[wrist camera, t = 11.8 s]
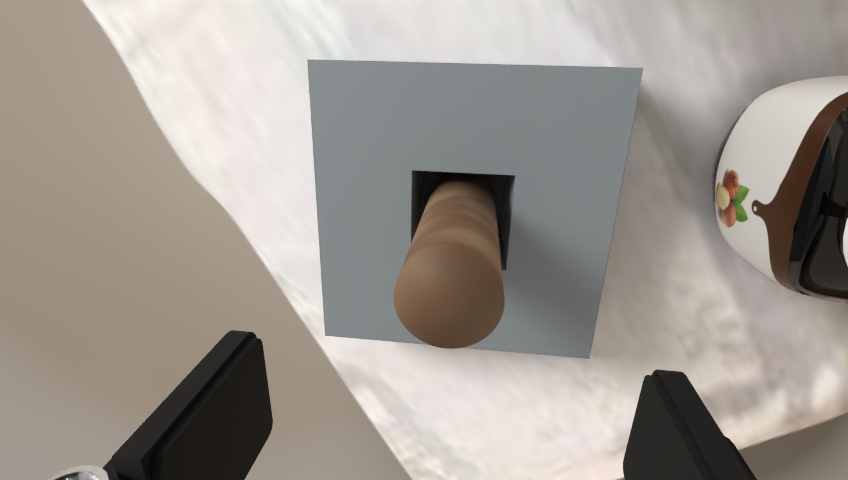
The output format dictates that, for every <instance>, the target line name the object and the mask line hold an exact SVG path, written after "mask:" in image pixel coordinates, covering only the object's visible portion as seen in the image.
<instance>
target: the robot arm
mask: <svg viewBox="0 0 848 480" xmlns="http://www.w3.org/2000/svg"><path fill="white" fill-rule="evenodd" d="M272 423H273V419H272V412H271V404H270V396H269V390H268V382H267V375H266V366H265V359H264V351H263V345H262V341H261V339H258V338H256V335H255V334H254V333H253V332H245V331H233V330H232V331H229V332H228V333H227V334H226V335H225V336H224V337H223V338H222V339H221V340H220V341H219V342H218V343H217V344H216V345H215V346H214V348H213V349H212V350H211V351H210V352H209V353H208V354H207V355H206V356H205V357H204V358H203V359H202V360H201V361H200V363H199V364H198V365H197V366H196V367H195V368H194V369H193V370H192V371H191V372H190V373H189V374H188V375H187V377H186V378H185V379H184V380H183V381H182V382H181V383H180V384H179V385H178V386H177V387H176V388H175V389H174V390H173V392H172V393H171V394H170V395H169V396H168V397H167V398H166V399H165V400H164V401H163V402H162V403H161V404H160V405H159V407H158V408H157V409H156V410H155V411H154V412H153V413H152V414H151V415H150V416H149V417H148V418H147V419H146V421H145V422H144V423H143V424H142V425H141V426H140V427H139V428H138V429H137V430H136V431H135V432H134V433H133V434H132V436H131V437H130V438H129V439H128V440H127V441H126V442H125V443H124V444H123V445H122V446H121V447H120V449H119V450H118V451H117V452H116V453H115V454H114V455H113V456H112V459H111V460H110V461H109V462H108V463H107V464H106V465H105V466H104V467H103V468H101V467H98V466H94V465H81V466H76V467H72V468H68V469H65V470H63V471H60V472H58V473H56V474H54V475H51V476H49V477H48V478H46V479H45V480H244V479H245V478H246V476H247V474H248V472H249V471H250V469H251V467H252V465H253V464H254V462H255V460H256V458H257V456H258V455H259V453H260V451H261V449H262V448H263V446H264V444H265V442H266V440H267V439H268V437H269V435H270V432H271V430H272ZM623 472H624V477H625V480H757V479H756V478H755V476H754V475H753V473H752V472H751V470H750V468H749V467H748V465H747V464H746V462H745V461H744V459H743V458H742V456H741V454H740V453H739V451H738V450H737V448H736V447H735V445H734V444H733V443H732V441H731V440H730V439H728V438H727V437H725V436H724V435H723V433H722V432H721V430H720V429H719V427H718V426H717V424H716V422H715V421H714V419H713V418H712V416H711V414H710V413H709V411H708V410H707V408H706V406H705V405H704V403H703V402H702V400H701V399H700V397H699V395H698V394H697V392H696V391H695V389H694V387H693V386H692V384H691V383H690V381H689V380H688V378H687V376H686V375H685V374H684V373H683V372H677V371H667V370H655V371H654V372H653V373H652V375H646V376H645V378H644V381H643V385H642V389H641V393H640V397H639V401H638V404H637V408H636V412H635V416H634V420H633V424H632V428H631V432H630V436H629V440H628V444H627V448H626V452H625V456H624V461H623Z"/></svg>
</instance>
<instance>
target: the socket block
mask: <svg viewBox="0 0 848 480" xmlns="http://www.w3.org/2000/svg"><path fill="white" fill-rule="evenodd" d="M642 71H643V68H619V67H580V66H540V65H500V64H461V63H421V62H382V61H342V60H308V76H309V91H310V107H311V123H312V138H313V154H314V169H315V185H316V200H317V216H318V231H319V247H320V263H321V278H322V294H323V309H324V325H325V336H336V337H347V338H359V339H370V340H382V341H393V342H405V343H416V344H427V343H425V342H423V341H421V340H419V339H418V338H416V337H415V336H413V335H412V334H411V333H410V332H409V331H408V330H407V329H406V328H405V327H404V326H403V324H402V323H401V321H400V319H399V318H398V316H397V313H396V310H395V306H394V299H393V295H394V288H395V284H396V281H397V278H398V276H399V273H400V271H401V268H402V266H403V263H404V261H405V258H406V256H407V253H408V250H409V248H410V245H411V243H412V240H413V238H414V235H415V233H416V230H417V227H418V225H419V222H420V220H421V216H422V172H423V171H436V172H457V173H477V174H498V175H508V182H507V193H506V204H505V215H504V226H503V237H502V239H499V246H500V256H501V266H502V277H503V287H504V297H505V306H504V312H503V315H502V318H501V320H500V322H499V324H498V325H497V327H496V328H495V329H494V331H493V332H492V333H491V334H490V335H488V336H487V337H486V338H485V339H483V340H481V341H480V342H478V343H476V344H473V345H470V346H467V347H462V348H474V349H485V350H497V351H508V352H519V353H531V354H542V355H554V356H565V357H577V358H588V359H589V357H590V352H591V346H592V341H593V336H594V330H595V325H596V319H597V314H598V309H599V303H600V298H601V292H602V287H603V282H604V276H605V271H606V265H607V260H608V255H609V249H610V244H611V239H612V233H613V228H614V222H615V217H616V212H617V206H618V201H619V195H620V190H621V185H622V179H623V174H624V168H625V163H626V158H627V152H628V147H629V142H630V136H631V131H632V125H633V120H634V115H635V109H636V104H637V98H638V93H639V88H640V82H641V77H642ZM428 345H430V344H428Z"/></svg>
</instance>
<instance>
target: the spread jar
mask: <svg viewBox="0 0 848 480" xmlns="http://www.w3.org/2000/svg"><path fill="white" fill-rule="evenodd" d="M712 190H713V202H714V210H715V214H716V218H717V222H718V225H719V229H720V231H721V233H722V235H723V237H724V239H725V240H726V242H727V244H728V245H729V246H730V247H731V248H732V249H733V250H734V251H735V252H736V253H737V254H738V255H739V256H740V257H741V258H743V259H744V260H745V261H746V262H748V263H749V264H750V265H752V266H753V267H754V268H756V269H757V270H759V271H760V272H761V273H763V274H764V275H766V276H767V277H769V278H770V279H772V280H773V281H775V282H776V283H778V284H780V285H782V286H784V287H786V288H788V289H790V290H792V291H795V292H798V293H801V294H805V295H808V296H812V297H816V298H820V299H825V300H830V301H837V302H846V303H848V76H830V77H821V78H813V79H806V80H801V81H796V82H792V83H788V84H785V85H782V86H779V87H776V88H774V89H771V90H769V91H767V92H765V93H763V94H762V95H760V96H759V97H758V98H756V99H755V100H754V101H753V102H752V103H751V104H750V105H749V106H748V107H747V108H746V109H745V110H744V111H743V112H742V113H741V114H740V116H739V117H738V118H737V120H736V121H735V123H734V124H733V126H732V127H731V129H730V131H729V132H728V134H727V135H726V137H725V139H724V141H723V143H722V145H721V147H720V150H719V152H718V155H717V158H716V161H715V165H714V171H713V180H712Z"/></svg>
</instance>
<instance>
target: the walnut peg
mask: <svg viewBox="0 0 848 480" xmlns="http://www.w3.org/2000/svg"><path fill="white" fill-rule="evenodd" d="M393 299H394V306H395V310H396V313H397V316H398V318H399V319H400V321H401V323H402V324H403V326H404V327H405V328H406V329H407V330H408V331H409V332H410V333H411V334H412V335H413V336H415V337H416V338H418V339H419V340H421V341H423V342H425V343H427V344H430V345H432V346H436V347H440V348H452V349H453V348H462V347H467V346H470V345H473V344H476V343H478V342H480V341H481V340H483V339H485V338H486V337H487V336H488V335H490V334H491V333H492V332H493V331H494V329H495V328H496V327H497V325H498V324H499V322H500V320H501V318H502V315H503V312H504V306H505V297H504V287H503V277H502V266H501V256H500V246H499V236H498V226H497V216H496V206H495V196H494V189H493V186H492V183H491V181H490V180H489V178H488V177H487V176H486V175H485V174H477V173H457V172H443V173H442V174H441V175H440V176H439V177H438V179H437V180H436V182H435V184H434V187H433V189H432V192H431V194H430V197H429V199H428V202H427V205H426V207H425V210H424V212H423V215H422V217H421V220H420V222H419V225H418V227H417V230H416V233H415V235H414V238H413V240H412V243H411V245H410V248H409V250H408V253H407V256H406V258H405V261H404V263H403V266H402V268H401V271H400V273H399V276H398V278H397V281H396V284H395V288H394V295H393Z"/></svg>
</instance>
